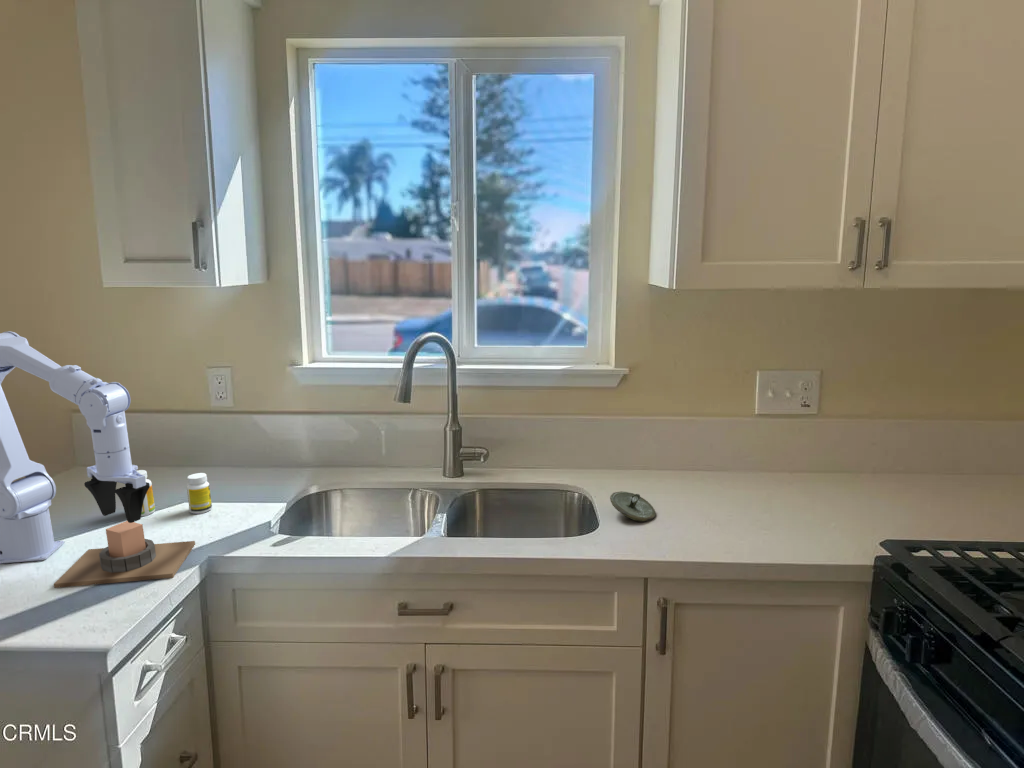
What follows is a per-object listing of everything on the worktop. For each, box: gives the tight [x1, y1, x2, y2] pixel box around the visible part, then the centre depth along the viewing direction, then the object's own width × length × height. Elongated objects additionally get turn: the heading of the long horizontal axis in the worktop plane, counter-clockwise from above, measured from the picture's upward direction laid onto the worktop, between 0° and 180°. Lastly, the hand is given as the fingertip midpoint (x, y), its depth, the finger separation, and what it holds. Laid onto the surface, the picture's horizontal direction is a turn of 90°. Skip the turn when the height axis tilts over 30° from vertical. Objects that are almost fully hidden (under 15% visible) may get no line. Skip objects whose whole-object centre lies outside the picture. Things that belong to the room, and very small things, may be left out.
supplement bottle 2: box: [186, 472, 213, 515], centre depth 154 cm, size 5×5×8 cm
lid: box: [609, 491, 657, 522], centre depth 148 cm, size 11×10×5 cm
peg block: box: [105, 520, 146, 558], centre depth 128 cm, size 4×4×7 cm
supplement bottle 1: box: [136, 469, 156, 518], centre depth 153 cm, size 5×5×10 cm
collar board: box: [53, 538, 196, 589], centre depth 128 cm, size 20×14×3 cm
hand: (121, 517), depth 128 cm, fingers open, 7 cm apart
